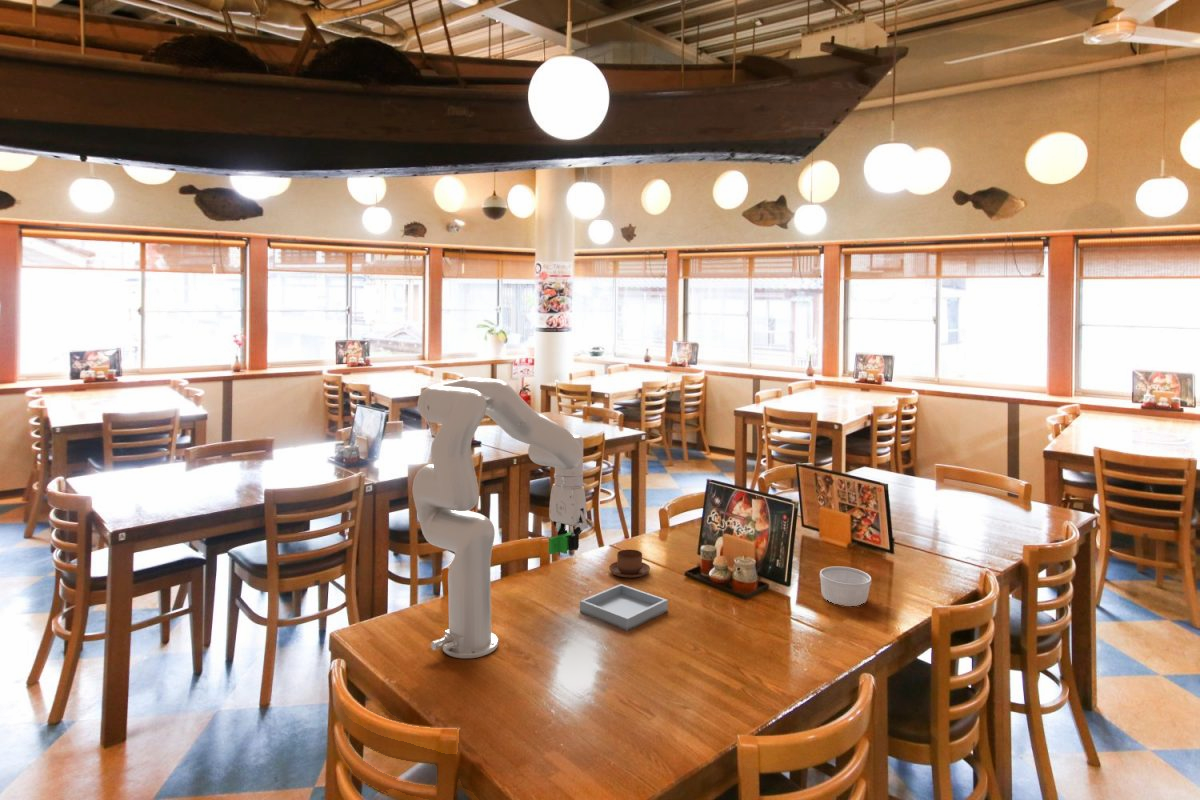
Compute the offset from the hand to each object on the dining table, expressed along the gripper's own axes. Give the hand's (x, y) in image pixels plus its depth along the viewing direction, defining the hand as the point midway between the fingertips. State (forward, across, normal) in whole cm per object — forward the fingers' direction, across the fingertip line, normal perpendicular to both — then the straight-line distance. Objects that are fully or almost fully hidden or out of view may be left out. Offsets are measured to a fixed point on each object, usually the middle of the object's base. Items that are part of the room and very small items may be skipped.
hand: (567, 546), depth 194 cm
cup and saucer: (+14, +1, +25) cm, 28 cm away
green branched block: (+1, 0, 0) cm, 1 cm away
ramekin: (+13, +56, +50) cm, 76 cm away
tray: (+14, +18, +3) cm, 23 cm away
